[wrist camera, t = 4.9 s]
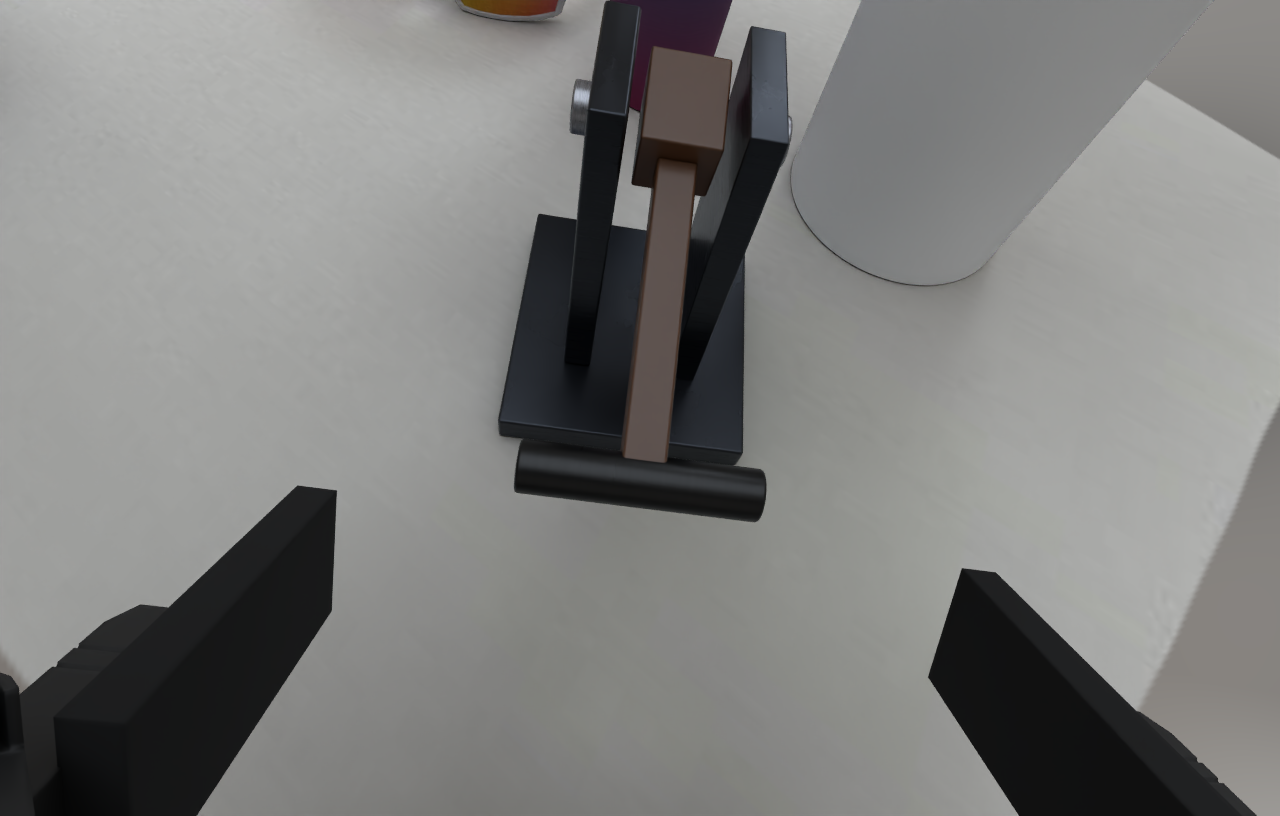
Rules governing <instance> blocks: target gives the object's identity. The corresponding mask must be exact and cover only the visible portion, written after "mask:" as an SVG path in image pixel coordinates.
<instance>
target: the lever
mask: <svg viewBox="0 0 1280 816" xmlns="http://www.w3.org/2000/svg"><path fill="white" fill-rule="evenodd" d="M731 73H732V60H729V59H724V58H718V57H713V56H707V55H702V54H696V53H691V52H685V51H679V50H674V49H668V48H663V47H657V46H653V47H652V49H651V54H650V60H649V65H648V71H647V76H646V81H645V87H644V92H643V98H642V103H641V111H640V119H639V127H638V135H637V143H636V150H635V158H634V166H633V174H632V182H631V183H632V185H635V186H642V187H648V188H652V190H651V198H650V207H649V215H648V223H647V232H646V240H645V249H644V257H643V265H642V274H641V282H640V290H639V299H638V307H637V315H636V324H635V332H634V341H633V349H632V357H631V366H630V374H629V382H628V391H627V399H626V407H625V416H624V424H623V433H622V441H621V449H620V451H617V450H609V449H602V448H594V447H586V446H579V445H571V444H564V443H556V442H548V441H541V440H533V439H525V438H524V439H522V440H521V442H520V446H519V451H518V456H517V462H516V470H515V478H514V491H515V492H516V493H523V494H531V495H539V496H547V497H555V498H563V499H571V500H579V501H587V502H595V503H603V504H611V505H619V506H627V507H635V508H644V509H652V510H660V511H668V512H676V513H684V514H692V515H700V516H708V517H716V518H724V519H732V520H740V521H748V522H757V521H758V520H759V519H760V517H761V515H762V513H763V510H764V506H765V500H766V477H765V473H764V472H763V471H762V470H761V469H755V468H747V467H740V466H732V465H724V464H717V463H709V462H701V461H694V460H686V459H678V458H671V457H668V448H669V438H670V429H671V419H672V409H673V400H674V390H675V380H676V371H677V361H678V351H679V342H680V332H681V323H682V313H683V303H684V294H685V284H686V274H687V265H688V255H689V245H690V236H691V226H692V216H693V207H694V197H695V195H697V196H703V197H704V196H706V195H707V192H708V190H709V187H710V185H711V182H712V180H713V177H714V175H715V172H716V170H717V167H718V165H719V162H720V160H721V157H722V155H723V152H724V147H725V137H726V126H727V115H728V105H729V94H730V84H731Z"/></svg>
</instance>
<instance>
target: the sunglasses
mask: <svg viewBox="0 0 1280 816" xmlns="http://www.w3.org/2000/svg"><path fill="white" fill-rule="evenodd" d="M455 1H456V3H457V4H458V5H459V7H460V8H462V9H463V10H465V11H468V12H471V13H473V14H476V15H480V16H485V17H489V18H494V19H501V20H509V21H531V20H542V19H547V18H553V17H555V16H557V15H559V14H560V13H561V12H562V9H563V6H564V3H565V1H566V0H455Z"/></svg>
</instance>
